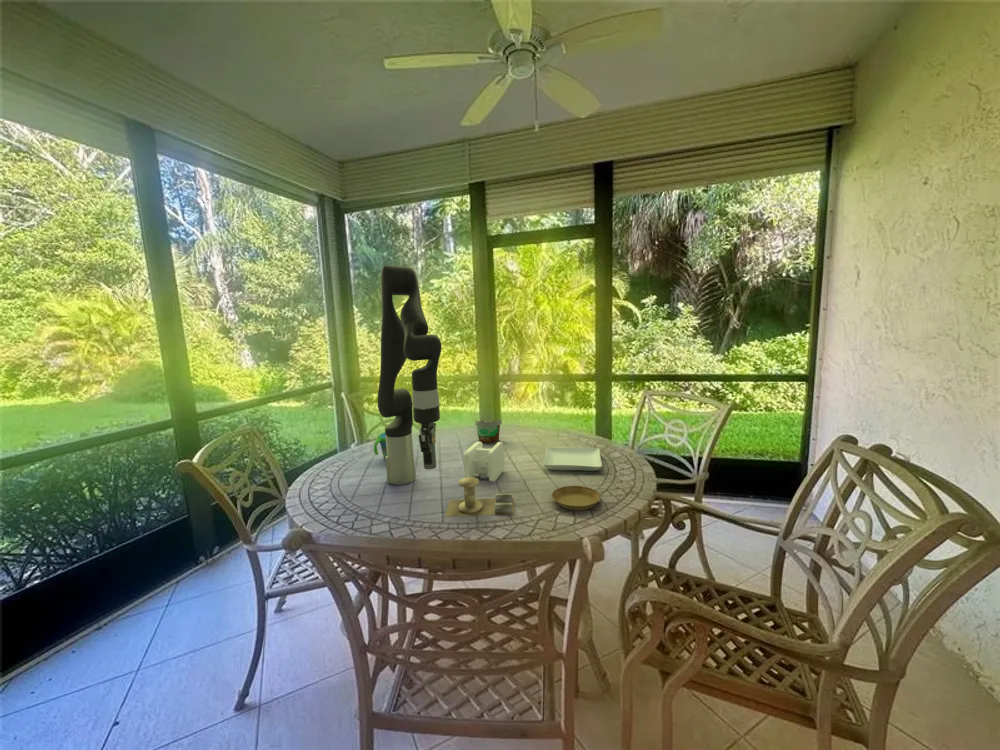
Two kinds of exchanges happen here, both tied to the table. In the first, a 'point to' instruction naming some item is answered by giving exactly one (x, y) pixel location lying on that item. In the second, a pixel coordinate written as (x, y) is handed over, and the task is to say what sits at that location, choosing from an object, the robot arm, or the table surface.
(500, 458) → the cable organizer
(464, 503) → the bobbin
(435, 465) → the spice jar
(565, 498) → the plant saucer
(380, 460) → the table surface
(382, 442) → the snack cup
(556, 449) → the salad plate
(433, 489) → the table surface
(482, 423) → the food container
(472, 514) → the winding board
